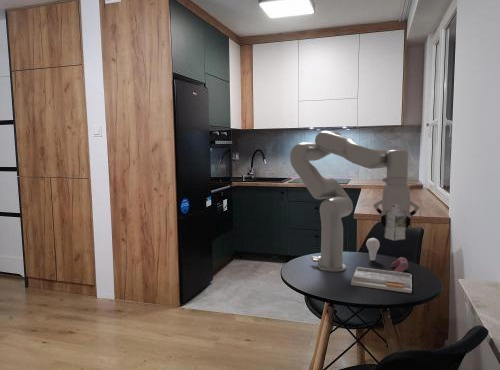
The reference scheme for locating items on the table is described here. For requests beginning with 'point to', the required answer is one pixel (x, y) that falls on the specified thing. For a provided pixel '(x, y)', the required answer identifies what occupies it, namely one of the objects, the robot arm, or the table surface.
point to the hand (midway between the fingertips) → (395, 226)
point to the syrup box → (395, 224)
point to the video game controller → (400, 264)
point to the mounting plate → (384, 285)
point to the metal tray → (382, 276)
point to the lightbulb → (372, 247)
